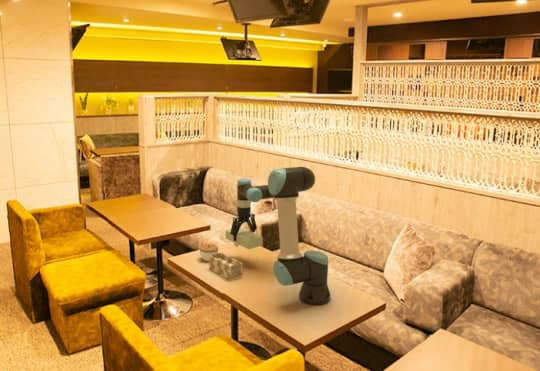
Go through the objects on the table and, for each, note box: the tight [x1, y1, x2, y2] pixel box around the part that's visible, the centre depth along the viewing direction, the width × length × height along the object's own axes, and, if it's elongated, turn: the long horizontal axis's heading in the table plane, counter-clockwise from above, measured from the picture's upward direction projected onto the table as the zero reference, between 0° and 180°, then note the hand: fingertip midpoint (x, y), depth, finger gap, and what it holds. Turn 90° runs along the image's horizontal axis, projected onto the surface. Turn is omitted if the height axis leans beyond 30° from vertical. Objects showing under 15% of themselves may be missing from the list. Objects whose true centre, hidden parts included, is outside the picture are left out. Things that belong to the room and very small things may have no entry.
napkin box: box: [208, 252, 243, 282], centre depth 251 cm, size 20×8×8 cm, turn 40°
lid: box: [225, 226, 264, 250], centre depth 262 cm, size 22×10×5 cm, turn 40°
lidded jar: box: [199, 243, 219, 263], centre depth 269 cm, size 11×11×9 cm
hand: (243, 244), depth 263 cm, fingers closed on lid, 10 cm apart
